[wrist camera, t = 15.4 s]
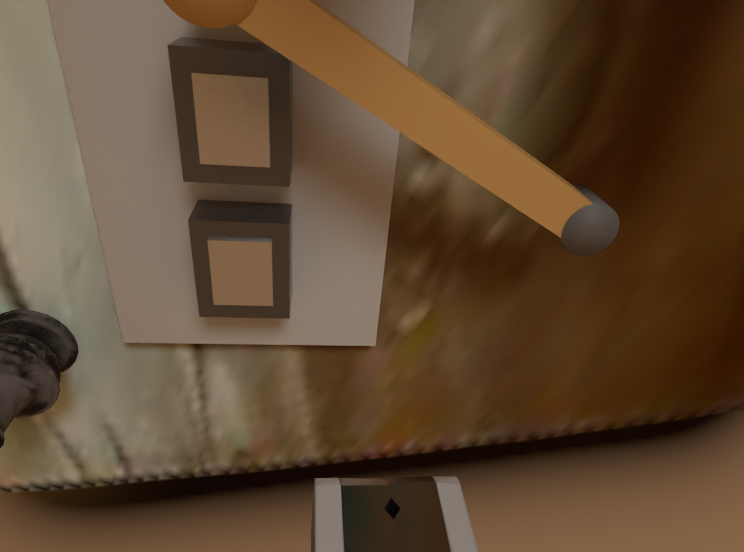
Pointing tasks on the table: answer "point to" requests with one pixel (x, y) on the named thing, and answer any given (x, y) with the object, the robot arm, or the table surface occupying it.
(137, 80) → the board
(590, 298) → the table surface
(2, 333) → the dark grey tall piece
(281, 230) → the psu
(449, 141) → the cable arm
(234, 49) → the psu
